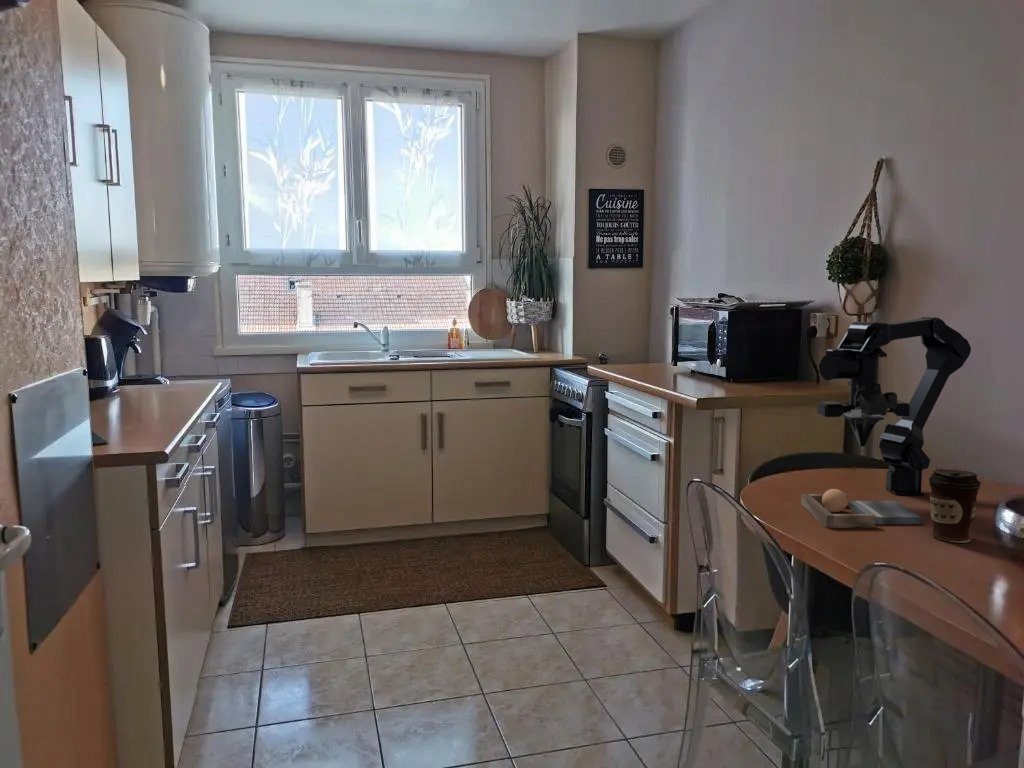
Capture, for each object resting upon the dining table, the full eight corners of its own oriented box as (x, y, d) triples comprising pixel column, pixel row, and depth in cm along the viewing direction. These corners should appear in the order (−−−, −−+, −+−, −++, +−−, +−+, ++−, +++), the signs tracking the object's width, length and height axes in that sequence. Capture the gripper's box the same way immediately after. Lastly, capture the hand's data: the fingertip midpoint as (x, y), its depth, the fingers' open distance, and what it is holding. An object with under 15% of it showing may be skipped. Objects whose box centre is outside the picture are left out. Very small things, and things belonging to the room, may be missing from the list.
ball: (821, 505, 170) (846, 504, 168) (824, 517, 165) (849, 516, 164) (820, 485, 168) (844, 484, 167) (822, 496, 164) (847, 495, 162)
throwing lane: (891, 504, 171) (891, 493, 170) (926, 527, 154) (926, 515, 154) (801, 505, 172) (801, 494, 172) (826, 527, 156) (826, 515, 155)
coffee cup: (957, 548, 142) (961, 479, 140) (916, 536, 149) (918, 470, 148) (986, 540, 146) (990, 473, 144) (944, 529, 153) (947, 464, 152)
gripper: (834, 382, 166) (832, 454, 168) (924, 381, 165) (920, 453, 167) (817, 377, 177) (815, 444, 179) (901, 375, 176) (898, 443, 178)
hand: (861, 446), depth 175 cm, fingers closed
